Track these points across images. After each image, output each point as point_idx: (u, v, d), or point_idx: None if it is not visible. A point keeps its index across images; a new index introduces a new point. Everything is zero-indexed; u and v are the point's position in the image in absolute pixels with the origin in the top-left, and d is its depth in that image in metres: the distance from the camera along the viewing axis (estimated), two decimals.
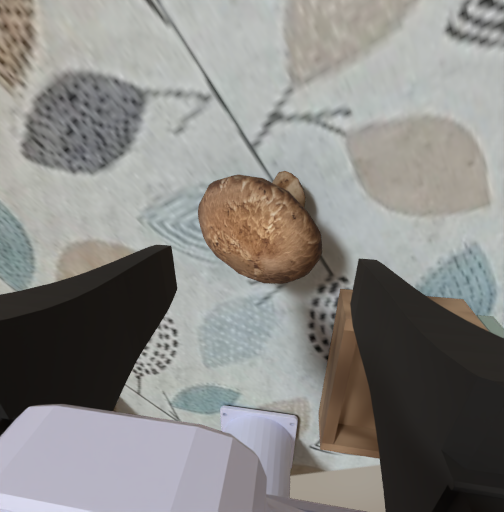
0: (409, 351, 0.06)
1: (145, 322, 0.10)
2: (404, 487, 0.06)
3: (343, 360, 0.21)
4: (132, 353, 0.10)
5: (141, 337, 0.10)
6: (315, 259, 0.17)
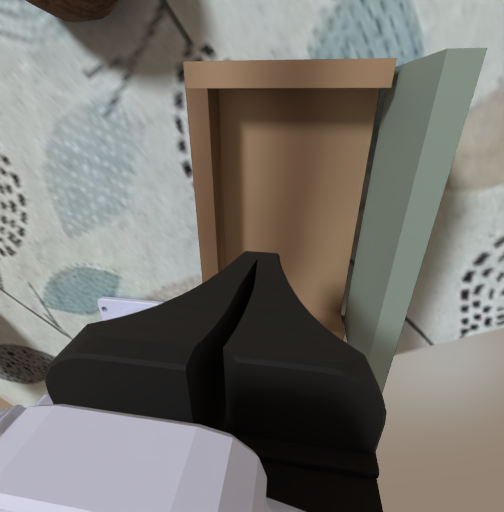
0: None
1: None
2: None
3: (198, 154, 0.14)
4: None
5: None
6: None
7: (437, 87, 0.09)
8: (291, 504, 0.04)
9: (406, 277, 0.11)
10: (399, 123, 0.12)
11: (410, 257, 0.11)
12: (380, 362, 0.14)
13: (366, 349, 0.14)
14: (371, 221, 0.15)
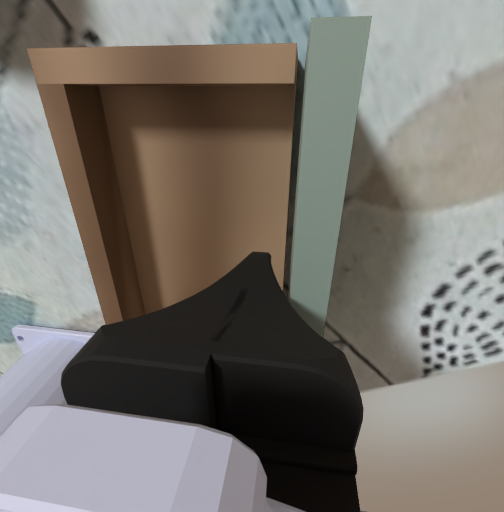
0: None
1: None
2: None
3: (70, 168, 0.11)
4: None
5: None
6: None
7: (306, 80, 0.06)
8: None
9: None
10: None
11: (308, 317, 0.08)
12: None
13: None
14: None
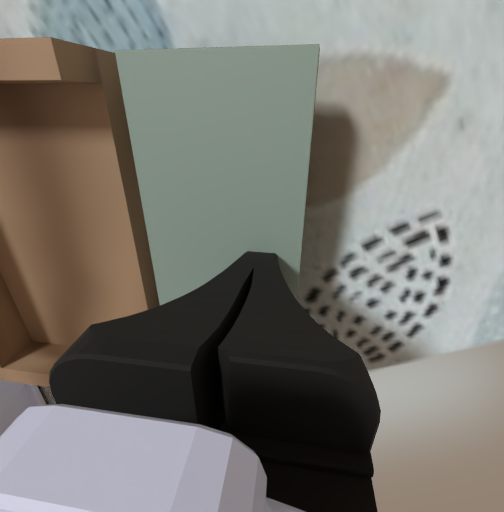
0: None
1: None
2: None
3: None
4: None
5: None
6: None
7: (314, 84, 0.08)
8: (286, 503, 0.04)
9: (299, 271, 0.12)
10: (215, 127, 0.09)
11: (301, 253, 0.11)
12: None
13: None
14: (194, 253, 0.12)
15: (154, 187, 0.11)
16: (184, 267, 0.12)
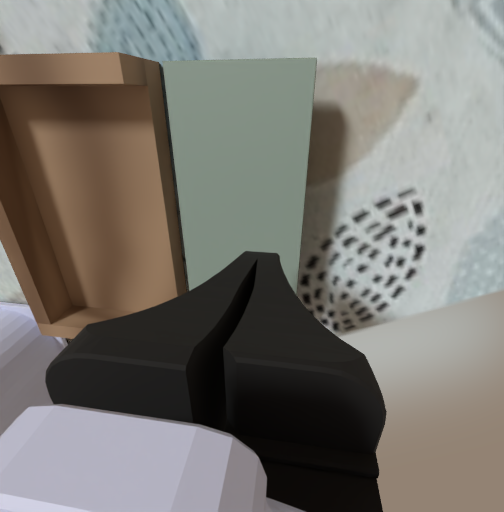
0: None
1: None
2: None
3: None
4: None
5: None
6: None
7: (313, 87, 0.11)
8: (291, 504, 0.04)
9: (301, 236, 0.15)
10: (237, 119, 0.12)
11: None
12: None
13: None
14: (217, 221, 0.15)
15: (187, 167, 0.14)
16: (208, 233, 0.15)
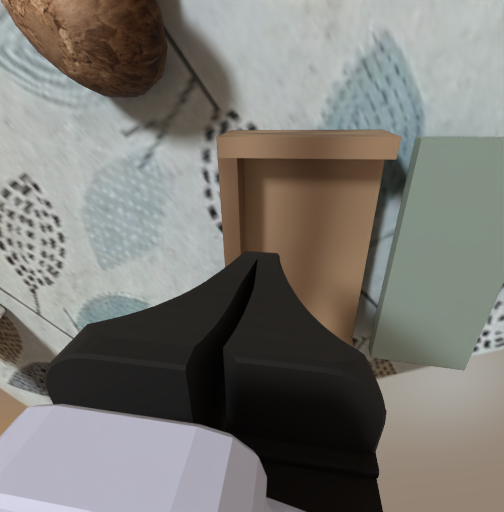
0: None
1: None
2: None
3: (228, 210, 0.17)
4: None
5: None
6: (140, 13, 0.12)
7: None
8: (291, 504, 0.04)
9: None
10: (477, 183, 0.15)
11: None
12: None
13: (468, 337, 0.19)
14: (428, 261, 0.17)
15: (415, 219, 0.16)
16: (416, 271, 0.18)
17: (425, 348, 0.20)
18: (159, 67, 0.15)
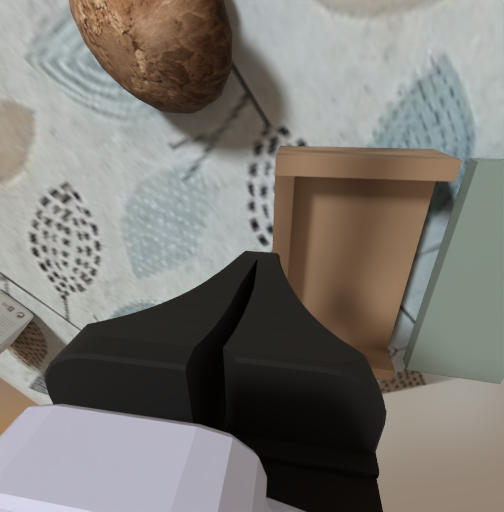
0: None
1: None
2: None
3: (280, 225, 0.17)
4: None
5: None
6: (217, 36, 0.12)
7: None
8: (291, 504, 0.04)
9: None
10: None
11: None
12: None
13: None
14: (474, 278, 0.17)
15: (464, 238, 0.17)
16: (461, 288, 0.18)
17: (462, 362, 0.20)
18: (222, 86, 0.15)
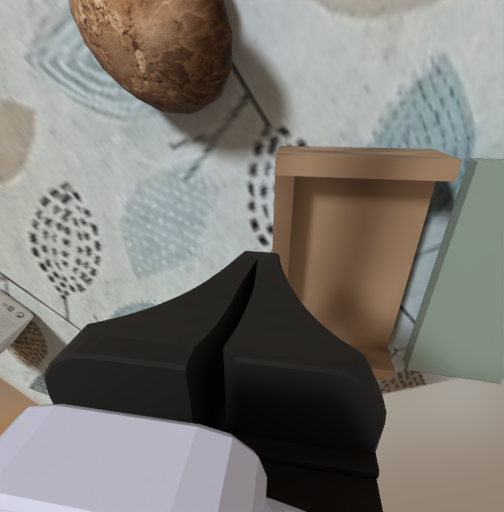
0: None
1: None
2: None
3: (280, 225, 0.17)
4: None
5: None
6: (217, 36, 0.12)
7: None
8: (291, 504, 0.04)
9: None
10: None
11: None
12: None
13: None
14: (474, 278, 0.17)
15: (464, 238, 0.17)
16: (461, 288, 0.18)
17: (462, 362, 0.20)
18: (222, 86, 0.15)
